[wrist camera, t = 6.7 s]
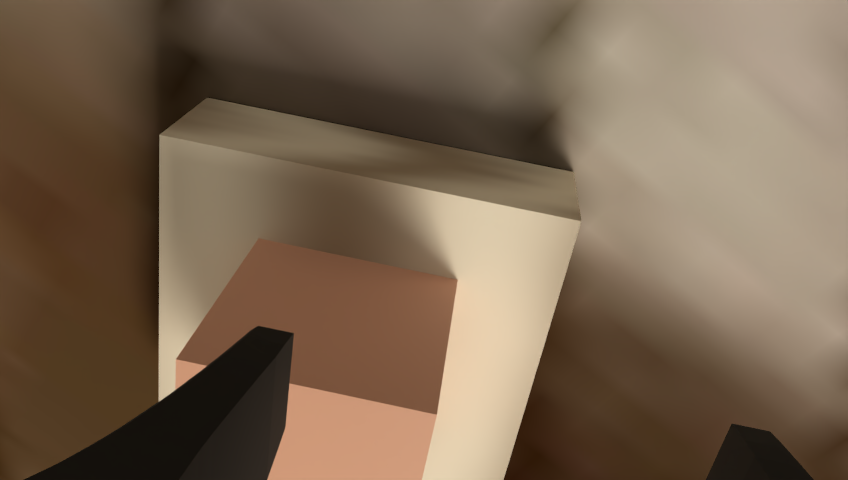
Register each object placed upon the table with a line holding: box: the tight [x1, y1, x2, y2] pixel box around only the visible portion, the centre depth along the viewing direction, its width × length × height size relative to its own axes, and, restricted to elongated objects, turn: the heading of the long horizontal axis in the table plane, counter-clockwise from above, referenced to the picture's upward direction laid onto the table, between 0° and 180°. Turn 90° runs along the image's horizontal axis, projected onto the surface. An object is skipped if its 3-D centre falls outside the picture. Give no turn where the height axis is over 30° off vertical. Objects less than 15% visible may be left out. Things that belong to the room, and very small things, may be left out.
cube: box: [175, 238, 458, 480], centre depth 17 cm, size 5×5×5 cm
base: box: [159, 98, 581, 480], centre depth 21 cm, size 10×10×3 cm
